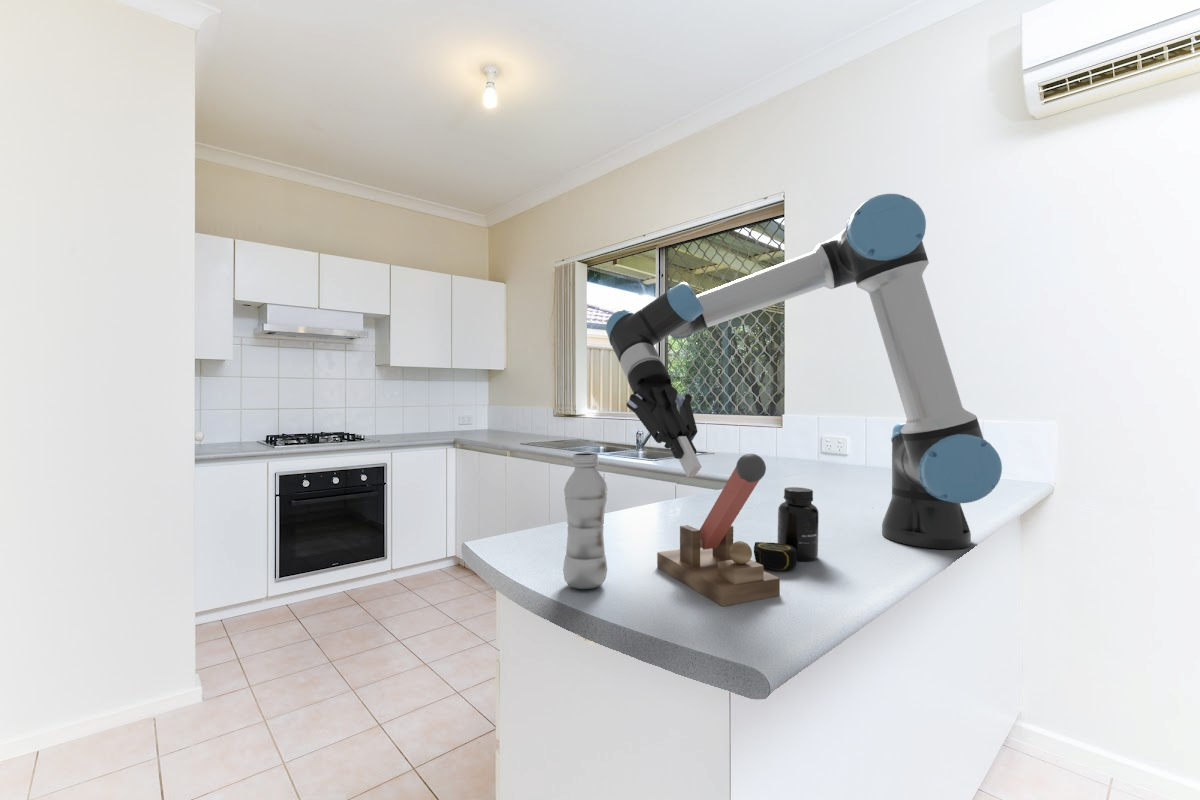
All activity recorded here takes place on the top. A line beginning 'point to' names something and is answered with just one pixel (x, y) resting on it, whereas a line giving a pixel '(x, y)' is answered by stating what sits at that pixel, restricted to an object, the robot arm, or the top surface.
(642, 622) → the top surface
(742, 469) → the lever
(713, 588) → the cracker base
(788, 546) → the tape measure
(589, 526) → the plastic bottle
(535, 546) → the top surface
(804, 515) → the supplement bottle
